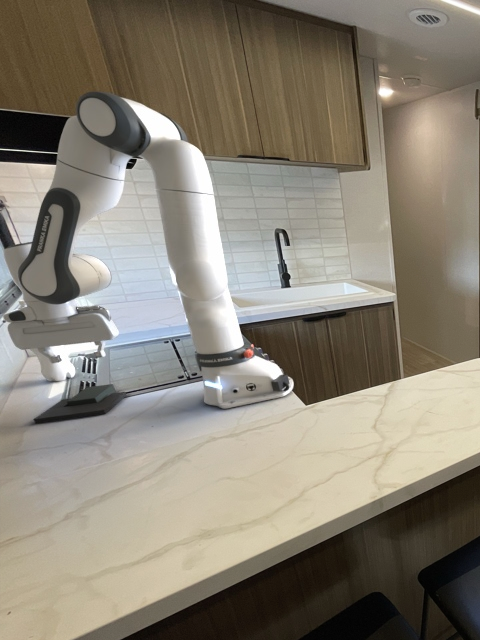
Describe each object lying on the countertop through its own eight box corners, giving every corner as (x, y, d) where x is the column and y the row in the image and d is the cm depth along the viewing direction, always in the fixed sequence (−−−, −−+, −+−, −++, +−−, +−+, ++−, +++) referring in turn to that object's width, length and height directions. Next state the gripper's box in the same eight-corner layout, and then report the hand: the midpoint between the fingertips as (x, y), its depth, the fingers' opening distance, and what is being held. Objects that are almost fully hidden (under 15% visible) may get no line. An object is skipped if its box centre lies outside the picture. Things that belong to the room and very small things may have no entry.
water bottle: (57, 383, 123) (19, 303, 113) (39, 382, 124) (0, 302, 114) (84, 375, 129) (50, 297, 120) (66, 373, 131) (31, 297, 121)
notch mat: (126, 395, 115) (125, 391, 114) (105, 413, 104) (103, 409, 104) (63, 403, 110) (62, 399, 110) (35, 423, 100) (33, 419, 99)
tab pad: (116, 391, 117) (113, 383, 116) (98, 405, 109) (95, 397, 108) (90, 394, 115) (86, 387, 114) (70, 409, 107) (66, 401, 106)
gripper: (111, 301, 108) (131, 350, 114) (11, 310, 102) (38, 361, 107) (99, 307, 103) (121, 357, 108) (-7, 316, 96) (22, 369, 102)
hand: (79, 359), depth 108 cm, fingers open, 8 cm apart
